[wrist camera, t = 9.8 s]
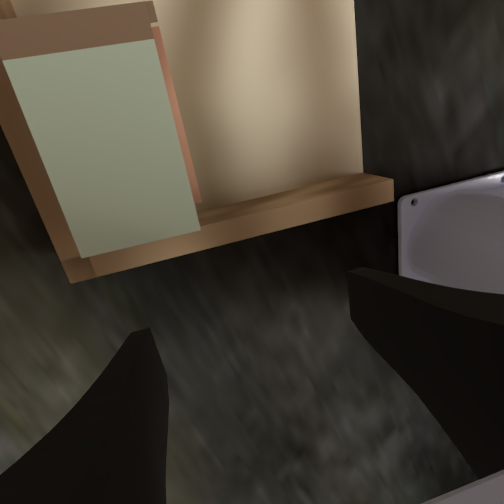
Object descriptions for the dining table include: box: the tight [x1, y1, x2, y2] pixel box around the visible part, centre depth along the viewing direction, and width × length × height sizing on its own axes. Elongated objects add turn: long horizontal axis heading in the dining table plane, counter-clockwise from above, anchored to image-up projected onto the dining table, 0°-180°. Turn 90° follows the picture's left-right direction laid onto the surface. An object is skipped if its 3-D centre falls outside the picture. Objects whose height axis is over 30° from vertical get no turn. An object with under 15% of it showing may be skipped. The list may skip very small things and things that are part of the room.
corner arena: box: [0, 0, 394, 284], centre depth 15 cm, size 17×17×4 cm
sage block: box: [0, 1, 201, 258], centre depth 14 cm, size 8×4×6 cm, turn 10°
